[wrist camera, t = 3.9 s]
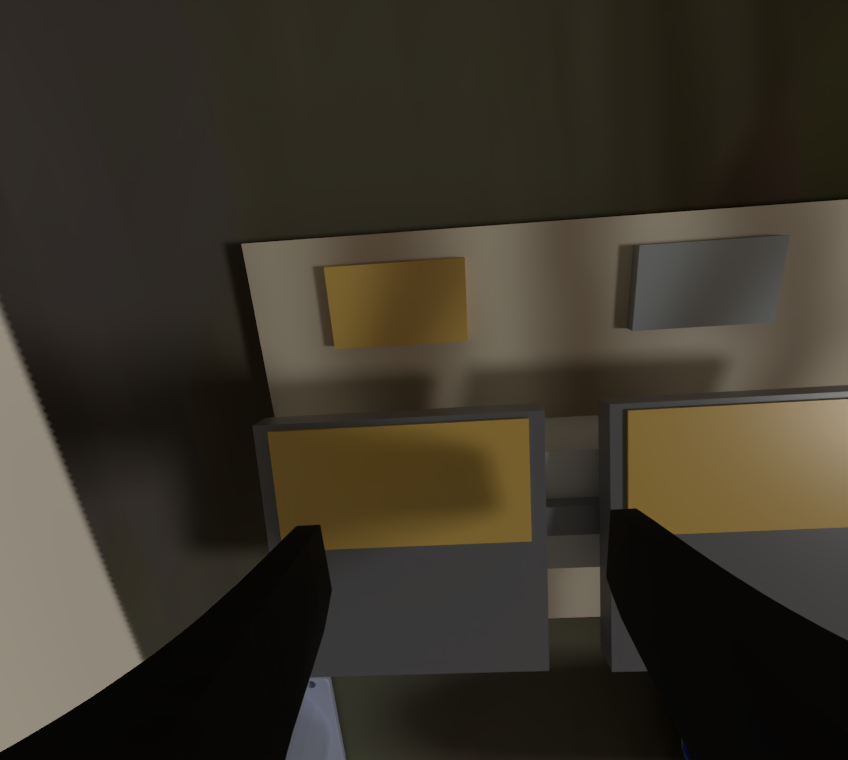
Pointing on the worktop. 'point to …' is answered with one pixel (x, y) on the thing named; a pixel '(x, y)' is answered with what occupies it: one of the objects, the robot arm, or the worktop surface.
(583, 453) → the switch housing
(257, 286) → the base
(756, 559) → the switch
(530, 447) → the switch
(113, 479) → the worktop surface
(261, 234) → the worktop surface
